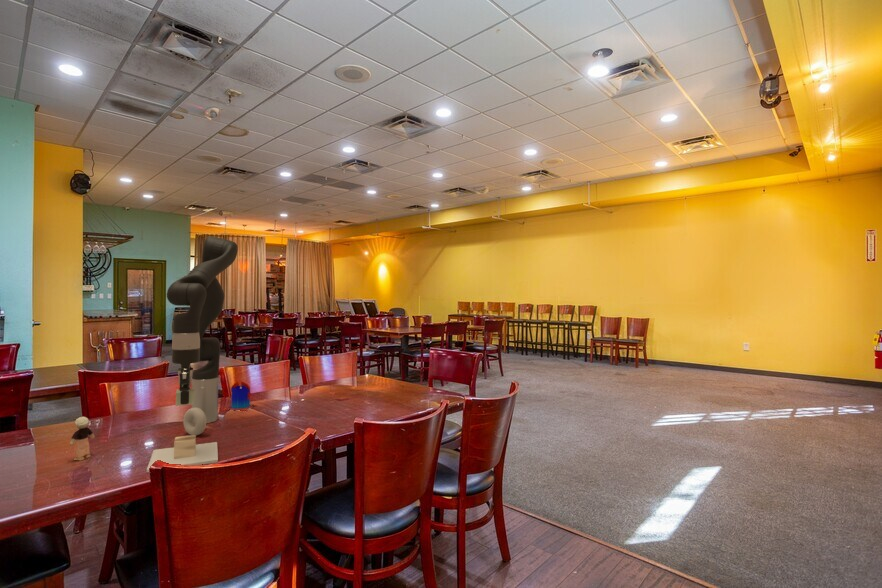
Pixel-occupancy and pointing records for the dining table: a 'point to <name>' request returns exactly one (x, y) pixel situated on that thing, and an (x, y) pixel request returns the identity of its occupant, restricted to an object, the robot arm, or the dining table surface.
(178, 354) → the robot arm
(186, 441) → the birch block
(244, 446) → the dining table surface
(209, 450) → the base plate
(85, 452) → the grandmother figurine
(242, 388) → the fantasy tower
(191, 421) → the donut
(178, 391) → the sage block
